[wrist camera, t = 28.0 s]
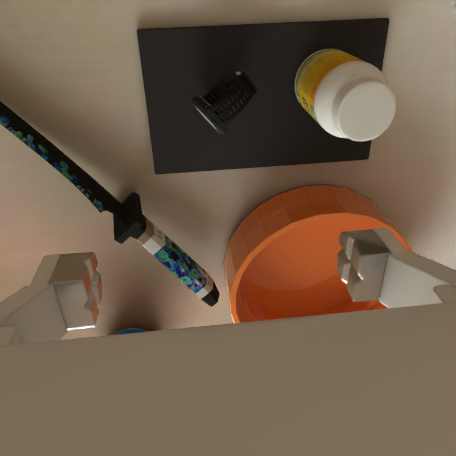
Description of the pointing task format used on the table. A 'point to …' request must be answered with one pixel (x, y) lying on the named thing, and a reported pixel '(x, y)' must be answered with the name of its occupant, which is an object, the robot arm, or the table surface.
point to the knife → (117, 210)
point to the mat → (259, 104)
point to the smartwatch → (225, 101)
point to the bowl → (297, 254)
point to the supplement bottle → (345, 95)
